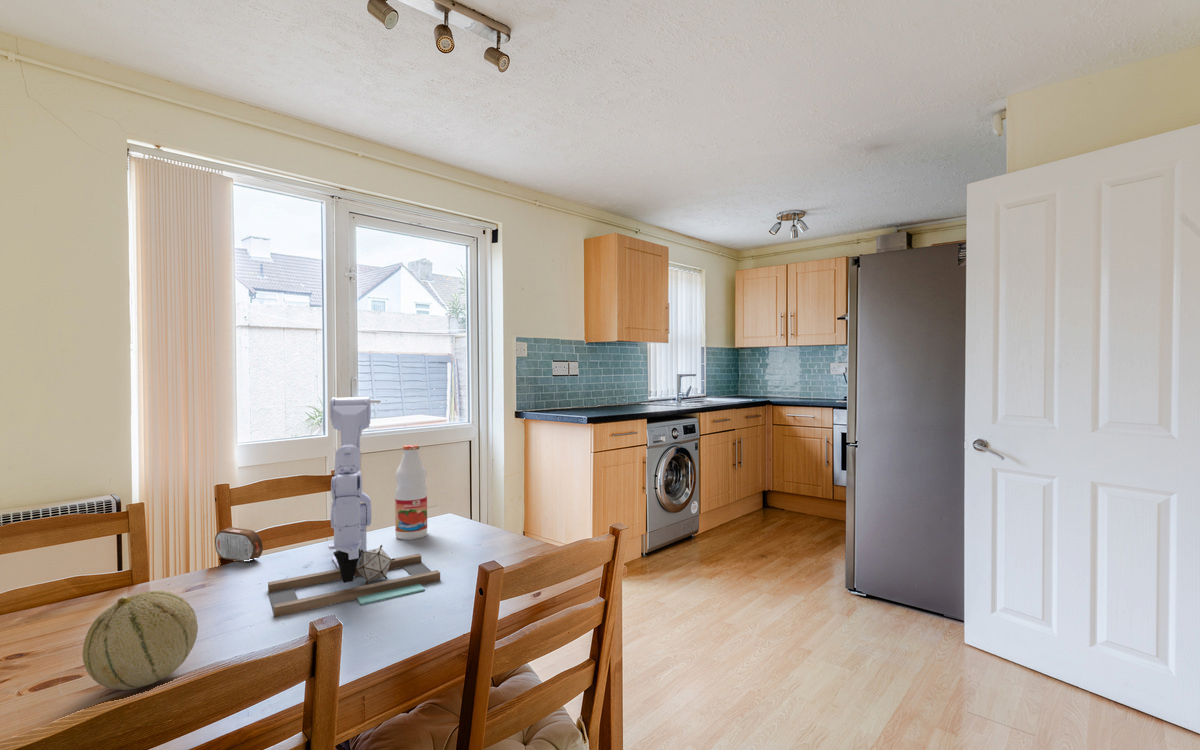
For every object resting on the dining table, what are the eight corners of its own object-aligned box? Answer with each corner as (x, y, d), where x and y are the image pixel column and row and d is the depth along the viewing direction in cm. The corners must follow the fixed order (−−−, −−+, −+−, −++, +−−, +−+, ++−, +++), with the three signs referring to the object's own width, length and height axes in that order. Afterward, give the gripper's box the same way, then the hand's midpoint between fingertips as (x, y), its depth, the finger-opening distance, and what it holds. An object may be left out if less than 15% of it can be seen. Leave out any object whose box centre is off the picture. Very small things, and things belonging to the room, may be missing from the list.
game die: (380, 597, 136) (391, 570, 132) (345, 588, 134) (355, 561, 129) (391, 567, 144) (401, 541, 139) (357, 558, 142) (367, 532, 137)
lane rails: (268, 590, 131) (268, 582, 131) (419, 561, 150) (419, 553, 150) (274, 617, 117) (274, 607, 117) (440, 580, 136) (440, 572, 136)
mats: (268, 593, 129) (268, 592, 129) (421, 563, 149) (421, 562, 149) (273, 613, 118) (273, 612, 118) (437, 578, 138) (437, 576, 138)
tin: (263, 561, 151) (263, 530, 151) (253, 565, 148) (253, 533, 148) (223, 555, 156) (223, 525, 156) (212, 559, 153) (212, 528, 153)
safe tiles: (339, 571, 143) (339, 569, 143) (396, 560, 151) (396, 559, 151) (360, 605, 122) (360, 603, 122) (424, 590, 130) (424, 588, 130)
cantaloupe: (219, 665, 98) (218, 580, 97) (128, 716, 83) (127, 616, 83) (155, 654, 101) (154, 572, 101) (58, 700, 87) (57, 605, 87)
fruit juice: (423, 529, 180) (422, 442, 180) (430, 537, 172) (430, 446, 172) (392, 534, 175) (391, 444, 175) (398, 542, 167) (398, 448, 167)
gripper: (323, 520, 136) (323, 575, 136) (334, 534, 124) (335, 595, 124) (354, 515, 140) (354, 569, 140) (368, 529, 128) (368, 588, 128)
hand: (347, 581), depth 132 cm, fingers closed
